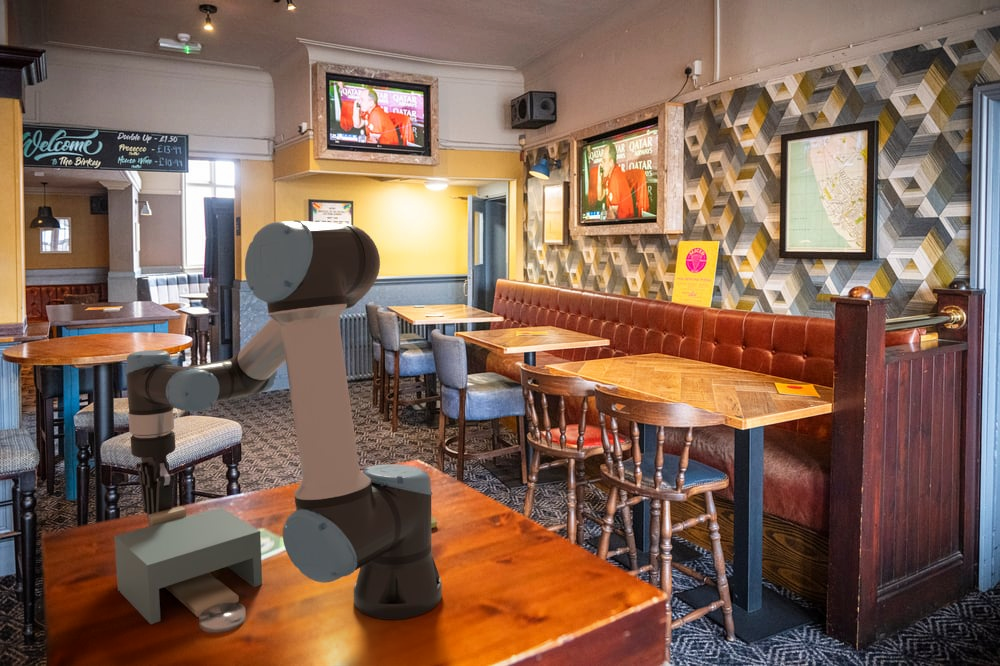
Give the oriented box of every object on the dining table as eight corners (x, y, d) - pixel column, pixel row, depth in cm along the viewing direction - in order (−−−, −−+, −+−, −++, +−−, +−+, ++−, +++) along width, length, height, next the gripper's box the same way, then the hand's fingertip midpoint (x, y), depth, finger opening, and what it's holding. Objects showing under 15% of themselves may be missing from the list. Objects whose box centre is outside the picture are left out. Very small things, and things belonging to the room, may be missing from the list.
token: (251, 624, 112) (251, 616, 112) (205, 639, 108) (205, 630, 108) (238, 606, 118) (238, 598, 118) (194, 619, 114) (194, 611, 113)
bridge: (262, 584, 125) (260, 531, 124) (150, 624, 112) (147, 565, 110) (223, 556, 136) (221, 507, 135) (117, 589, 123) (114, 535, 122)
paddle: (238, 601, 118) (236, 539, 117) (197, 616, 113) (194, 552, 112) (187, 560, 134) (184, 505, 132) (148, 572, 129) (145, 515, 127)
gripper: (186, 435, 129) (192, 556, 132) (160, 423, 138) (166, 536, 141) (143, 443, 124) (151, 569, 127) (119, 429, 133) (127, 547, 136)
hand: (159, 551), depth 134 cm, fingers closed
